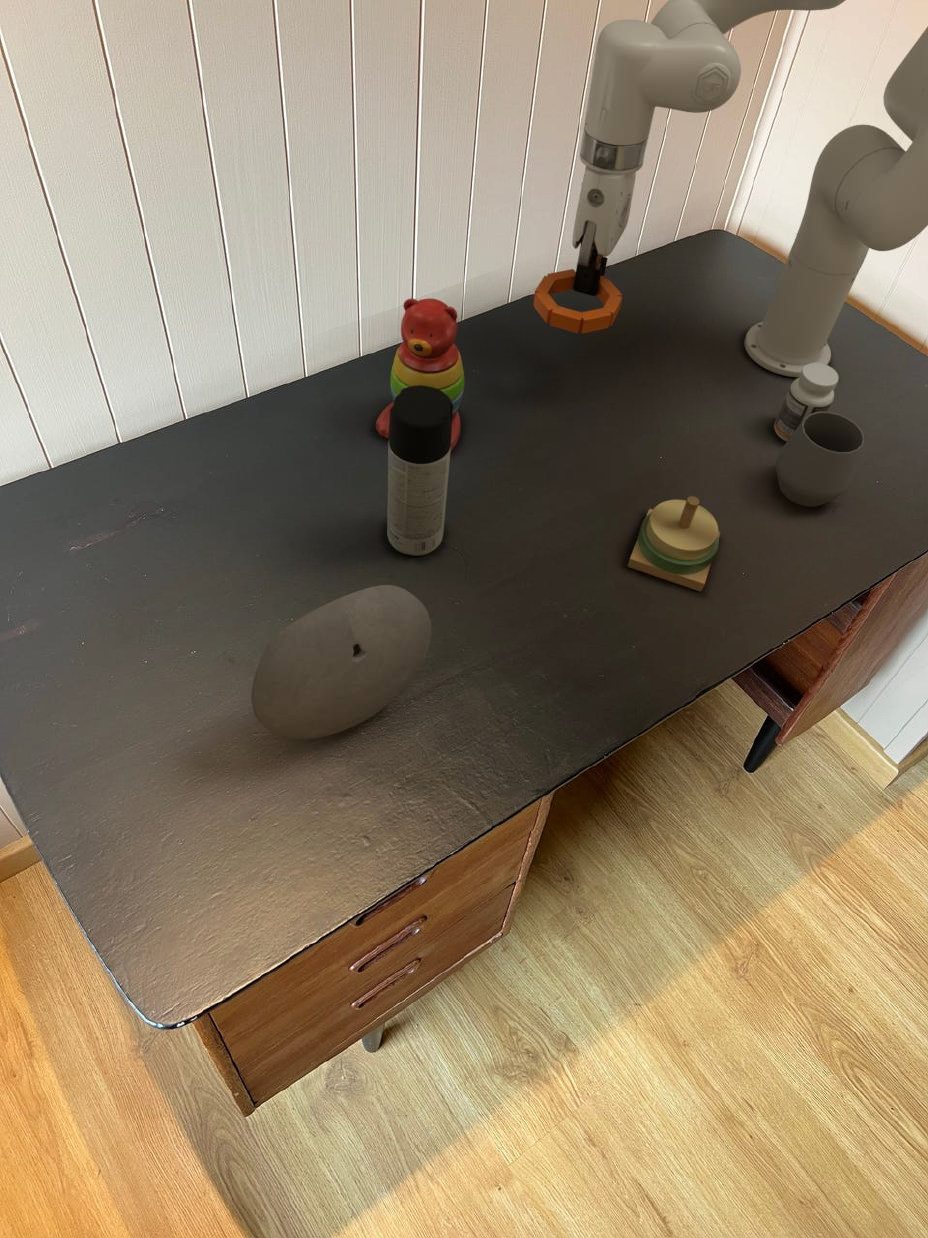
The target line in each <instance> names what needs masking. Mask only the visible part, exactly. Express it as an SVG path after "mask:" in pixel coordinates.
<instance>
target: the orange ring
mask: <svg viewBox="0 0 928 1238" xmlns="http://www.w3.org/2000/svg"><path fill="white" fill-rule="evenodd" d="M575 274H576V270H575V269H574V268H571V269H565V270H561V271H560V270H559V271H555V272H550V273H547V275H544V276H543V277H542V279H541V280H540V282H539V284H538V285H537V287H536V288H535V290H534V294H533V308H535V311H536V312H537V313H538V314H539V316H540V317H541V318H542V320H543V321H544V322H545V323H546V324H549V326H550V327H554V328H557V329H561V330H564V331H568V332H572V333H574V334H579V333H581V334H587V333H592V332H596V331H600V330H605V329H609V328H610V327H611V326H612V325H613V324H614V322H615V320H616V318H617V316H618V314H619V312H620V309H621V306H622V300H623V297H622V296H623V294H622V293H621V291H620V290H619V289H618V288H617V287H616V286H615V284H613V282H612V281H611V280H610V279H609V278H605V275H604V276H601V277H600V282H599V287H598V292H597V294H596V296H595V297H597V299H598V300H599V301H600V302H601V303H602V304H603V307H601V308H595V309H591V310H586V311H578V310H574V309H570V308H567V307H563V306H560V305H558V304H557V303H556V301H555V300H554V299H553V297H552V296H553V294H556V293H562V292H567V291H572V290H574V289H573V286H574V280H575Z"/></svg>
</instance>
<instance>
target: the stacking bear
mask: <svg viewBox="0 0 928 1238" xmlns="http://www.w3.org/2000/svg"><path fill="white" fill-rule="evenodd" d="M403 310H404V311H405V312H404V314H403V315H402V319H401V324H400V336H401V339H402V342H401V344H400V345H399V347H398V348H397V350H396V352H395V355H394V359H393V363H392V366H391V371H390V380H389V381H390V383H389V384H390V392H391V397H392V400H393V401H392V402H390V404H388V405H387V406H386V407H385V409H383V410H382V412H381V413H380V414H379V416H378V417H377V419H376V422H375V429H376V431H377V433H378V435H380V436H381V437H384V438H385V439H387V440H389V421H390V420H389V418H390V409H391V408H392V407H393V404H394V400H395V398H396V396H397V395H399V394H400V392H401V390H402V389H404V388H407V387H411V386H417V385H423V386H429V387H433V388H436V389H439V390H441V391H442V392H444V393H445V394H446V395H447V396H448V397H449V398H450V399H451V401H452V403H453V416H452V435H451V452H452V451H453V450H454V448H455V447H456V445H457V444H458V442H459V439H460V436H461V431H462V430H461V427H462V425H461V423H462V422H461V417H460V414H459V408H460V405H461V402H462V399H463V396H464V391H465V383H466V381H465V371H464V367H463V360H462V356H461V354H460V351H459V348H458V347H457V345H456V344H455V340H456V337H457V332H458V322H457V319H458V311H457V310H456V308H455V307H452V306H449V305H448V304H446V303H445V302H444V301H442V300H440V299H437V298H433V297H432V298H428V297H427V298H423V299H419V300H417V299H415V298H413V297H411V298H407V299H406V300H405V301H404V302H403Z"/></svg>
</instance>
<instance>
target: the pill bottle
mask: <svg viewBox="0 0 928 1238" xmlns="http://www.w3.org/2000/svg"><path fill="white" fill-rule="evenodd" d="M838 382H839V374H838V371H836V370H835V369H834V368H833V367H832V366H829V365H825V364H821V363H810V364H807V365H805V366H804V367H803V369H802V371H801V373H800V375H799V377H796V378H795V379H794V380H793V382H792V383H791V384H790V386H789V388H788V391H787V393H786V396H785V397H784V400H783V402H782V405H781V407H780V409H779V411H778V414H777V416H776V419H775V421H774V424H773V428H774V431H775V433H776V435H777V436H778V438H780V439H781V440H783V441H784V442H787V441H788V440H789V438H790V437H791V436H792V434H793V433H794V432H795V430H796V429H797V428H798V426H799V425H800V424H801V422H802V421H803V420H804V419H805V418H806V417H807V416H808V415H809V414H812V413H815V412H829V410H830V407H831V406H832V404H833V402H834V399H835V391H834V390H835V388H836V386H837V384H838Z"/></svg>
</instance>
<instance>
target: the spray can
mask: <svg viewBox="0 0 928 1238" xmlns="http://www.w3.org/2000/svg"><path fill="white" fill-rule="evenodd" d="M393 402H394V404H393V407H392V408H391V409H390V418H389V420H390V421H389V439H388V444H387V448H388V449H387V457H388V458H387V511H386V512H387V514H386V515H387V516H386V518H387V519H386V525H387V526H386V529H387V530H386V534H387V538H388V539H387V540H388V542H389V543H390V545H391V547H392V548H394V549H395V550H396V551H397V552H399V553H401V554H403V555H407V556H412V557H413V556H414V557H416V556H418V557H420V556H427V555H428V554H431V553H432V552H433V551H435V550H436V549H437V548H438V547H439V546H440V545H441V544H442V541H443V537H444V532H445V519H446V509H447V508H446V507H447V506H446V505H447V496H448V495H447V494H448V484H449V473H450V472H449V471H450V461H451V452H452V451H451V435H452V416H453V403H452V401H451V399H450V398H449V397H448V396H447V395H446V394H445V393H444V392H442V391H441V390H439V389H436V388H433V387H429V386H423V385H417V386H411V387H407V388H404V389H402V390H401V392H400V394H399V395H397V396H396V398H395V400H393Z"/></svg>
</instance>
